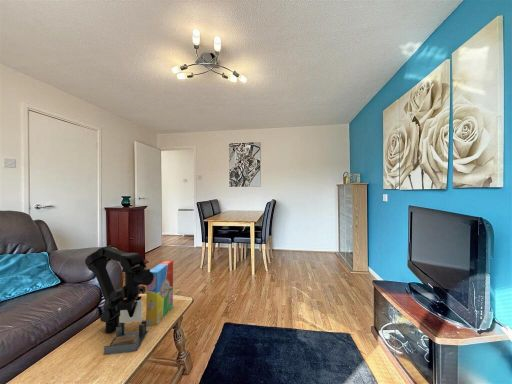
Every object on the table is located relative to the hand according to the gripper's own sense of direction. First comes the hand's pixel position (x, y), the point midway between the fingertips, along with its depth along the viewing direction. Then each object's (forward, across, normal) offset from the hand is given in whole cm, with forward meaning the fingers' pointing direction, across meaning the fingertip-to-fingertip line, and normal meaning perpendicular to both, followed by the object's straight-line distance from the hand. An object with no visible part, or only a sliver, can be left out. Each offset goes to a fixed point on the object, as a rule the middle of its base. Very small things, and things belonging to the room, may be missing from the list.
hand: (131, 316), depth 103 cm
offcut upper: (+7, +9, 0) cm, 11 cm away
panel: (+2, 0, 0) cm, 2 cm away
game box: (+10, -16, +8) cm, 21 cm away
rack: (+10, +4, 0) cm, 10 cm away
